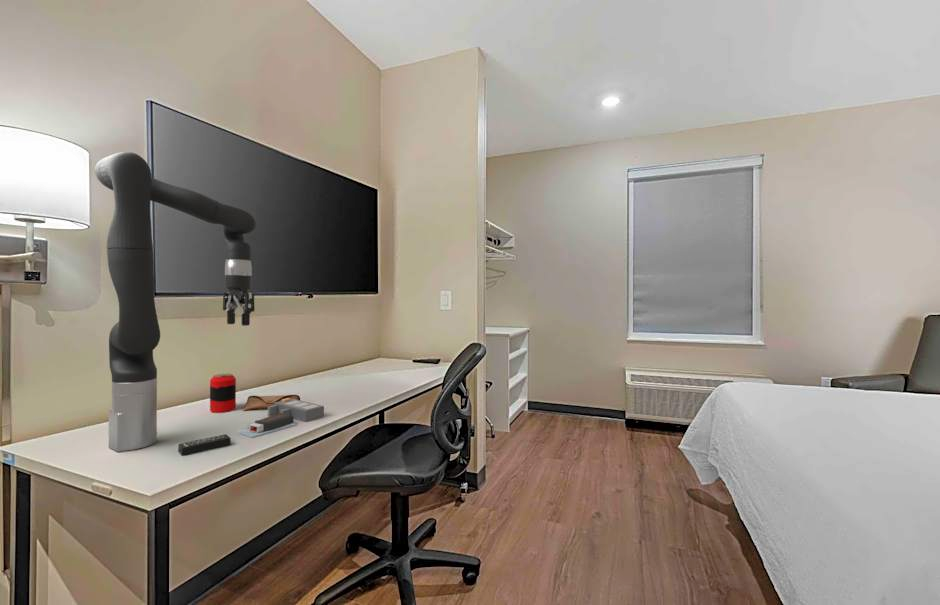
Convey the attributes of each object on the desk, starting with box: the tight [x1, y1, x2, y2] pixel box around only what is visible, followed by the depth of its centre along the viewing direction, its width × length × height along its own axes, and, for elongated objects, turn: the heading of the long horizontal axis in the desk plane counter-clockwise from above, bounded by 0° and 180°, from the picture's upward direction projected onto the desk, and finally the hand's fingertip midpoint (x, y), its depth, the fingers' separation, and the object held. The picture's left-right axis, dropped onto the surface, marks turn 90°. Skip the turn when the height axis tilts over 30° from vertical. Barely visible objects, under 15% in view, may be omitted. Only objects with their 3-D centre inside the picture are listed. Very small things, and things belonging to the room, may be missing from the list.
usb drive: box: [249, 413, 295, 433], centre depth 124 cm, size 5×12×3 cm, turn 155°
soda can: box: [209, 373, 237, 414], centre depth 142 cm, size 8×8×12 cm
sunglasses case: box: [242, 394, 301, 412], centre depth 147 cm, size 18×7×7 cm, turn 103°
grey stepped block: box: [267, 398, 325, 423], centre depth 137 cm, size 10×17×4 cm, turn 58°
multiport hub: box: [177, 433, 232, 457], centre depth 107 cm, size 4×11×2 cm, turn 136°
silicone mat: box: [238, 422, 297, 439], centre depth 123 cm, size 14×7×1 cm, turn 148°
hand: (238, 324), depth 133 cm, fingers open, 8 cm apart
